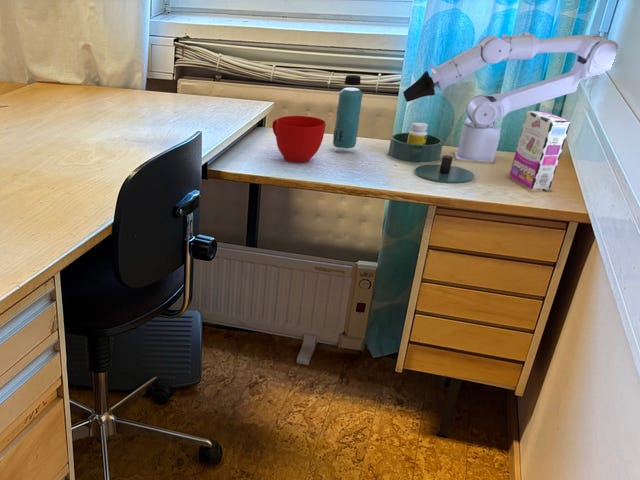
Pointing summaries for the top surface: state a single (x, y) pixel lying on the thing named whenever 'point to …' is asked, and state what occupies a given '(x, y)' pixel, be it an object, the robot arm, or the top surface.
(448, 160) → the lid
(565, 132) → the candy bar box
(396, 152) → the pot
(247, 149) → the top surface
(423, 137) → the supplement bottle
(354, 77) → the beverage bottle
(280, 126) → the ceramic cup
